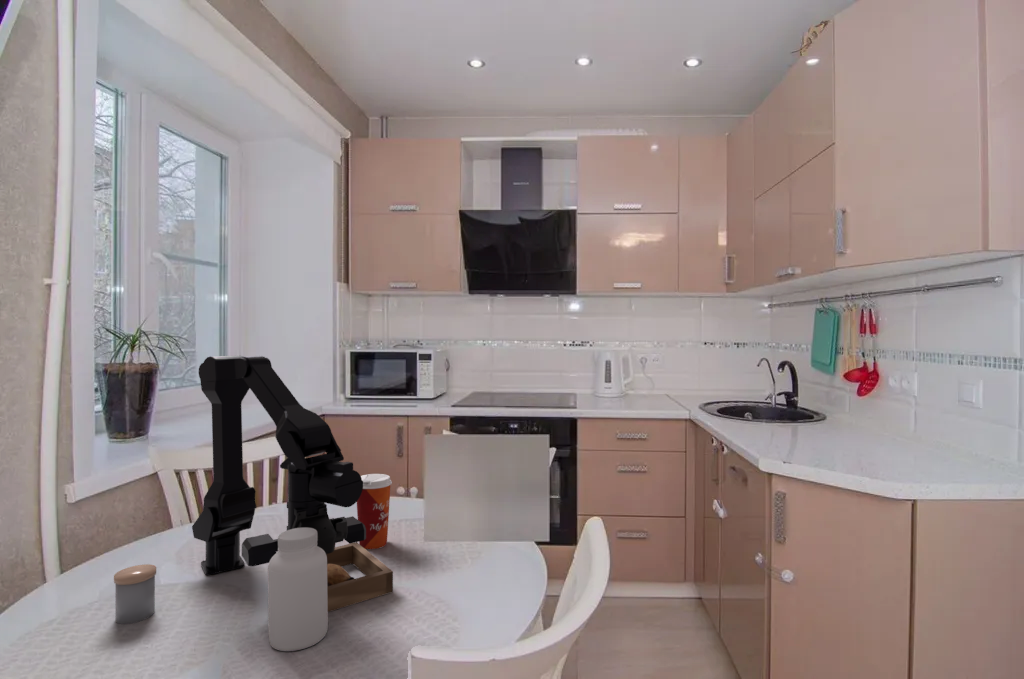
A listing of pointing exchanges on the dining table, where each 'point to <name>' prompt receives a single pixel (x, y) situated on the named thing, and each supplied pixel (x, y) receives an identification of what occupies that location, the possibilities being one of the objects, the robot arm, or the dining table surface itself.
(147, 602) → the grey sugar pot
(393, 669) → the dining table surface
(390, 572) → the tray
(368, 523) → the paper cup
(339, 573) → the bread roll
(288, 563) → the pill bottle
